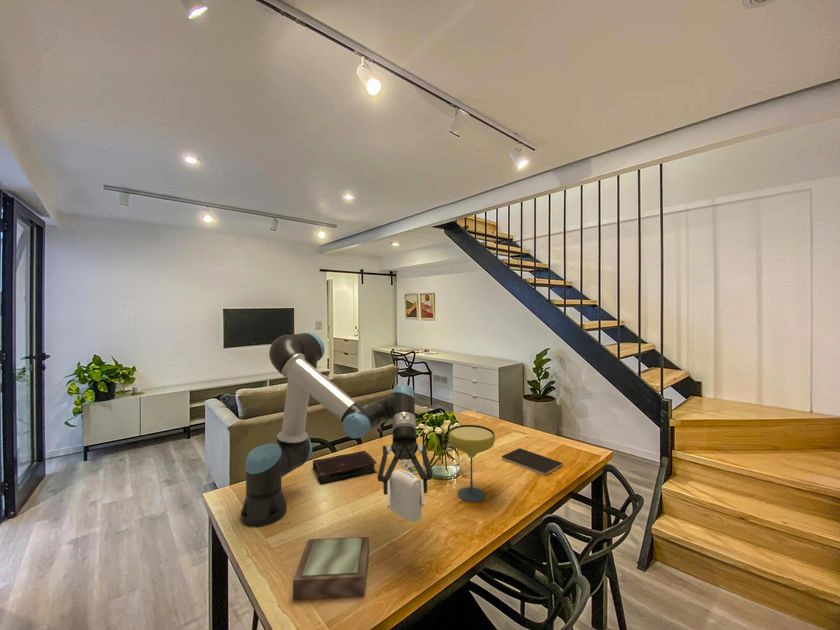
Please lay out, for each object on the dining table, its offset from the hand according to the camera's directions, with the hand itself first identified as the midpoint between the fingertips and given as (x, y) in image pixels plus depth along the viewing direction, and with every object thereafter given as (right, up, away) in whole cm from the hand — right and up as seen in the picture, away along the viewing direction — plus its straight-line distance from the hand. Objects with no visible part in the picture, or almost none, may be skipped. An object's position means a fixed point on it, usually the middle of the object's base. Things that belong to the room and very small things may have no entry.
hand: (405, 505), depth 100 cm
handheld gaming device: (+1, -18, +67) cm, 69 cm away
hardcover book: (+57, -18, +71) cm, 93 cm away
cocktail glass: (+24, -18, +41) cm, 51 cm away
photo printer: (0, -4, +3) cm, 6 cm away
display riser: (-20, -19, -1) cm, 27 cm away
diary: (-30, -18, +62) cm, 72 cm away
